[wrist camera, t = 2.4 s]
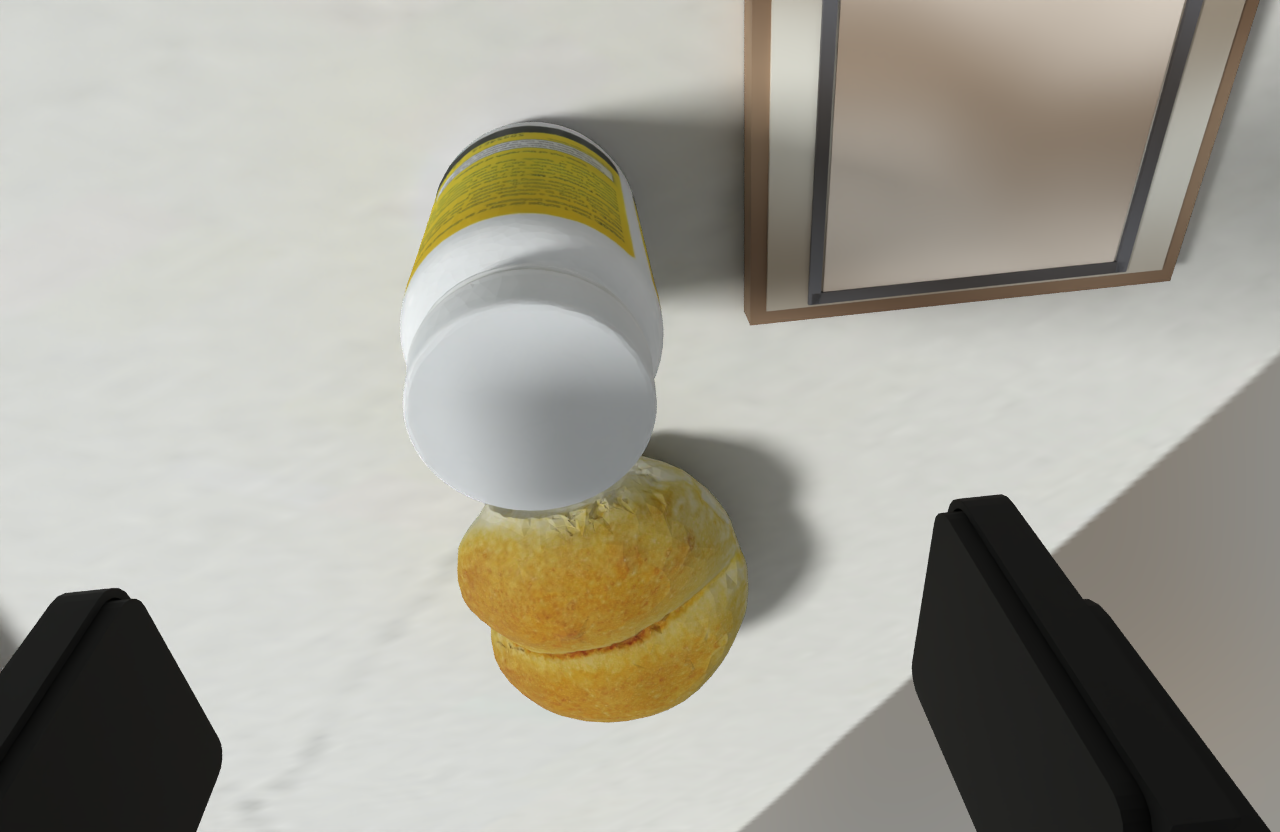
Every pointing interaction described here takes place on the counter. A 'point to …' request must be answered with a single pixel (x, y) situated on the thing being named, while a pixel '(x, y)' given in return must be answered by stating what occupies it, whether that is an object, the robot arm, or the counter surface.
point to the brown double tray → (973, 146)
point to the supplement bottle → (531, 323)
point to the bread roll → (609, 594)
